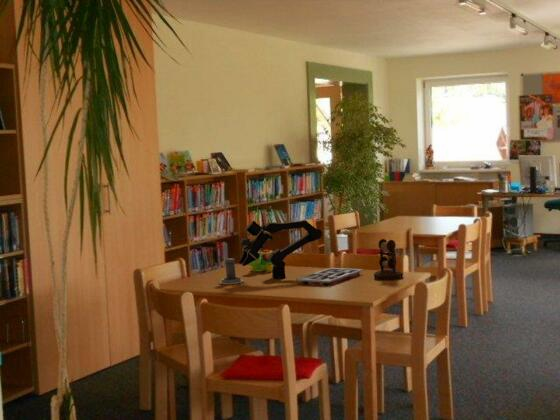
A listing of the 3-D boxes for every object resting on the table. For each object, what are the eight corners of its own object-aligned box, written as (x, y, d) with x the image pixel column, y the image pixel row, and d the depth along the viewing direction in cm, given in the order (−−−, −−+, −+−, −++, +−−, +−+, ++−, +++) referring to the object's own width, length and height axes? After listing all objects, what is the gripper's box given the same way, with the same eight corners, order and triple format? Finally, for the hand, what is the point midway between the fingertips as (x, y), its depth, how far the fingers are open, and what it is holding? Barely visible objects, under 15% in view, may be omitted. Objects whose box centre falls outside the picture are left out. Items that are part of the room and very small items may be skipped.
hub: (243, 279, 427) (243, 275, 427) (243, 283, 414) (243, 279, 414) (219, 281, 426) (219, 277, 426) (218, 285, 413) (218, 281, 413)
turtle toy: (239, 273, 448) (238, 253, 447) (265, 267, 467) (264, 247, 466) (262, 275, 438) (261, 254, 437) (288, 268, 456) (287, 248, 455)
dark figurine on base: (409, 277, 402) (407, 238, 401) (386, 281, 395) (384, 242, 393) (390, 274, 415) (388, 236, 413) (368, 278, 407) (366, 240, 406)
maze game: (331, 273, 431) (330, 267, 431) (362, 275, 420) (362, 269, 420) (296, 285, 402) (295, 279, 402) (329, 287, 391) (328, 280, 391)
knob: (237, 280, 421) (236, 257, 420) (233, 282, 417) (232, 259, 416) (228, 280, 423) (227, 257, 422) (224, 282, 418) (223, 259, 417)
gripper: (244, 230, 429) (226, 253, 428) (251, 234, 411) (232, 257, 410) (260, 243, 432) (242, 265, 430) (267, 247, 414) (249, 270, 412)
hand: (241, 264), depth 421 cm, fingers open, 9 cm apart
